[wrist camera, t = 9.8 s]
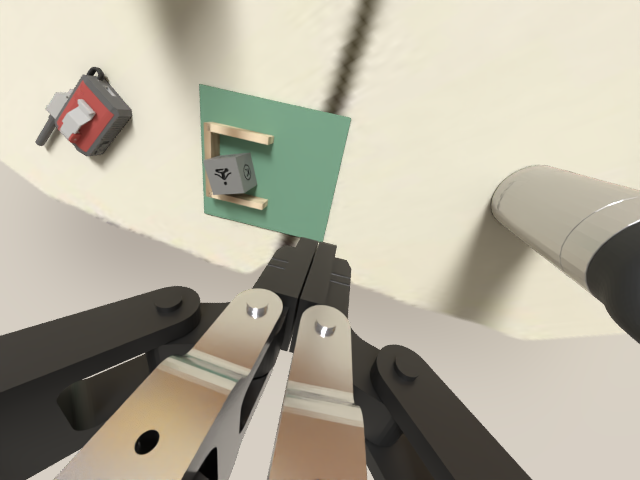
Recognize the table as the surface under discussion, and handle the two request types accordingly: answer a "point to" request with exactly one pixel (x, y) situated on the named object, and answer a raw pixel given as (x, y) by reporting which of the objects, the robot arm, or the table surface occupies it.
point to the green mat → (279, 160)
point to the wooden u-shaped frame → (213, 150)
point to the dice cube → (230, 173)
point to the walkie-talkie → (87, 114)
